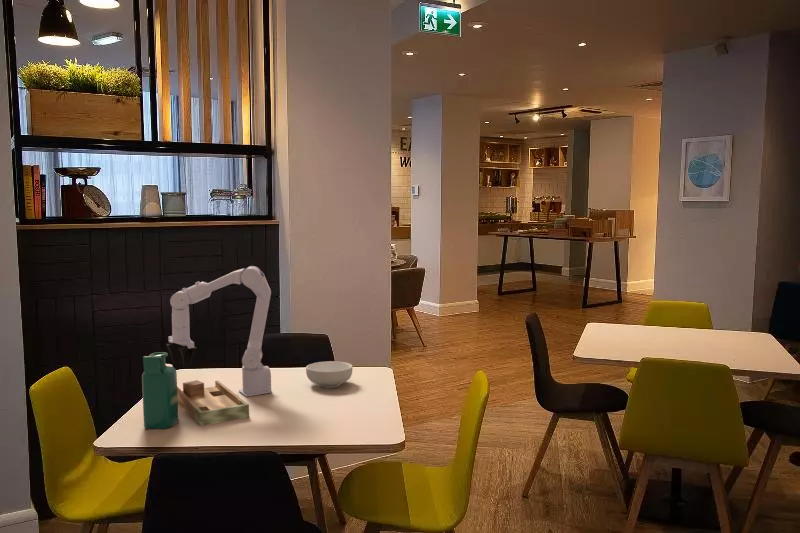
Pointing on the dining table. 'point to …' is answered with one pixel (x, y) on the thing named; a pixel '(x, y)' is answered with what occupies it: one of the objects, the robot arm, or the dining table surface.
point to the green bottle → (159, 392)
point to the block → (193, 388)
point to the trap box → (214, 405)
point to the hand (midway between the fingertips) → (181, 365)
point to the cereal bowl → (329, 373)
